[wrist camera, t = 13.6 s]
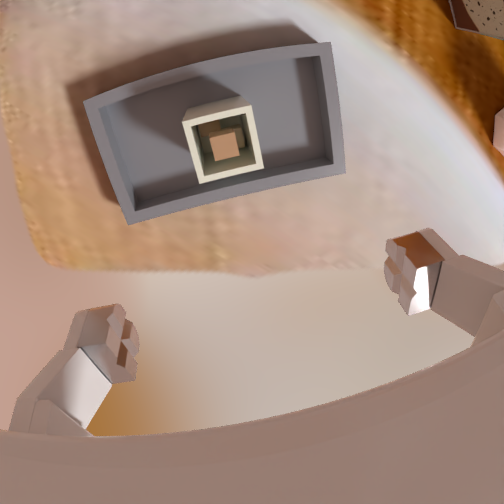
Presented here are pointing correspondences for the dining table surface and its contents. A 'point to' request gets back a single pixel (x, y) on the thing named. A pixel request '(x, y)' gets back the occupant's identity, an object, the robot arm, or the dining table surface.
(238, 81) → the tray
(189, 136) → the cup
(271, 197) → the dining table surface
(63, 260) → the dining table surface
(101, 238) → the dining table surface
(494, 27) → the food container
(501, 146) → the jar
